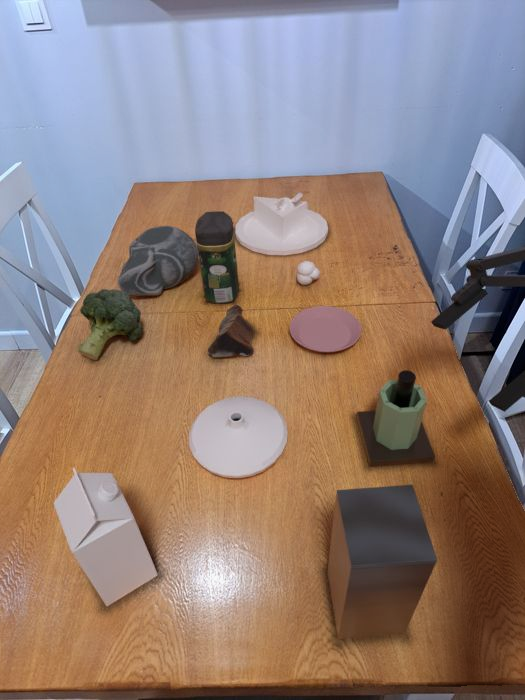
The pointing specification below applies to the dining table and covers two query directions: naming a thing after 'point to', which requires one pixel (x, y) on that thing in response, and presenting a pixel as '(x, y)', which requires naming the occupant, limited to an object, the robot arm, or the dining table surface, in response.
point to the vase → (238, 437)
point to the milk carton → (104, 535)
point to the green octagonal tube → (398, 417)
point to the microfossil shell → (307, 272)
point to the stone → (233, 336)
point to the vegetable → (109, 319)
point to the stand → (378, 560)
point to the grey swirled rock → (158, 261)
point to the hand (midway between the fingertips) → (467, 367)
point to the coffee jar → (217, 257)
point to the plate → (325, 329)
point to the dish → (281, 227)
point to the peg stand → (382, 454)
